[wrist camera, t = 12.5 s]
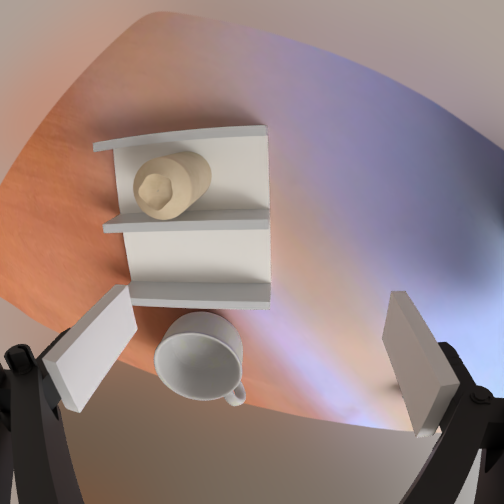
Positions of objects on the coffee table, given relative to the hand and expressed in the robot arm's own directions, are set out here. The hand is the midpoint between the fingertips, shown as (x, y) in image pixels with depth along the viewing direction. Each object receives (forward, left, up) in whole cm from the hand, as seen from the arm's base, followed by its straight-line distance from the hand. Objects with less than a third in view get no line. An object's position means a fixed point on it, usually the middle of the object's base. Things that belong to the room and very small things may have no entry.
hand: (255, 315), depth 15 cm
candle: (+9, -4, -22) cm, 24 cm away
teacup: (+8, +19, -23) cm, 31 cm away
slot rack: (+9, 0, -23) cm, 24 cm away
